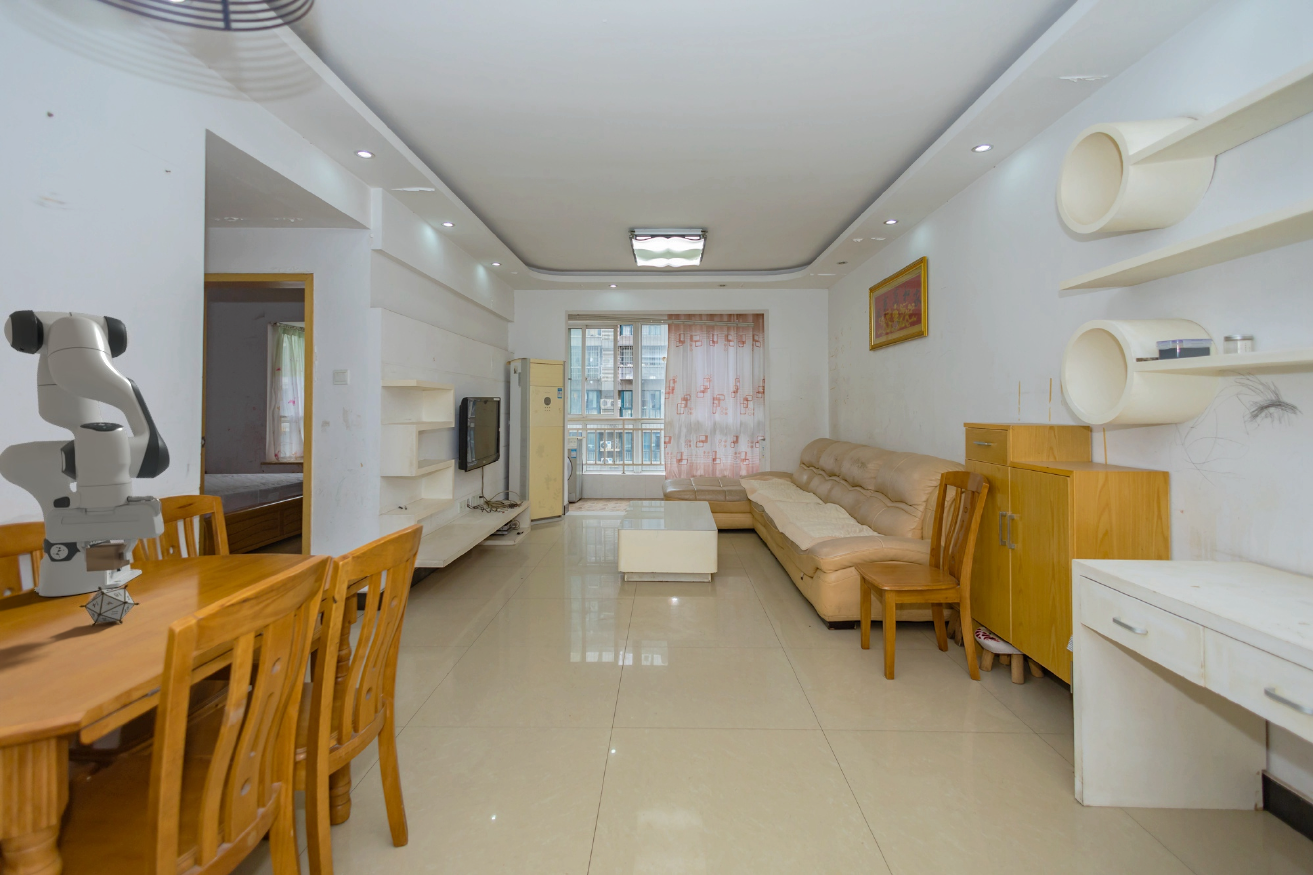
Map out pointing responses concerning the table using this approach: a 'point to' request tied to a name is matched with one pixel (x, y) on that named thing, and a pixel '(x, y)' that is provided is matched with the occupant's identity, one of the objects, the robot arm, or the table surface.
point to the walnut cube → (105, 557)
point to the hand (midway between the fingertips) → (108, 560)
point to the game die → (109, 605)
